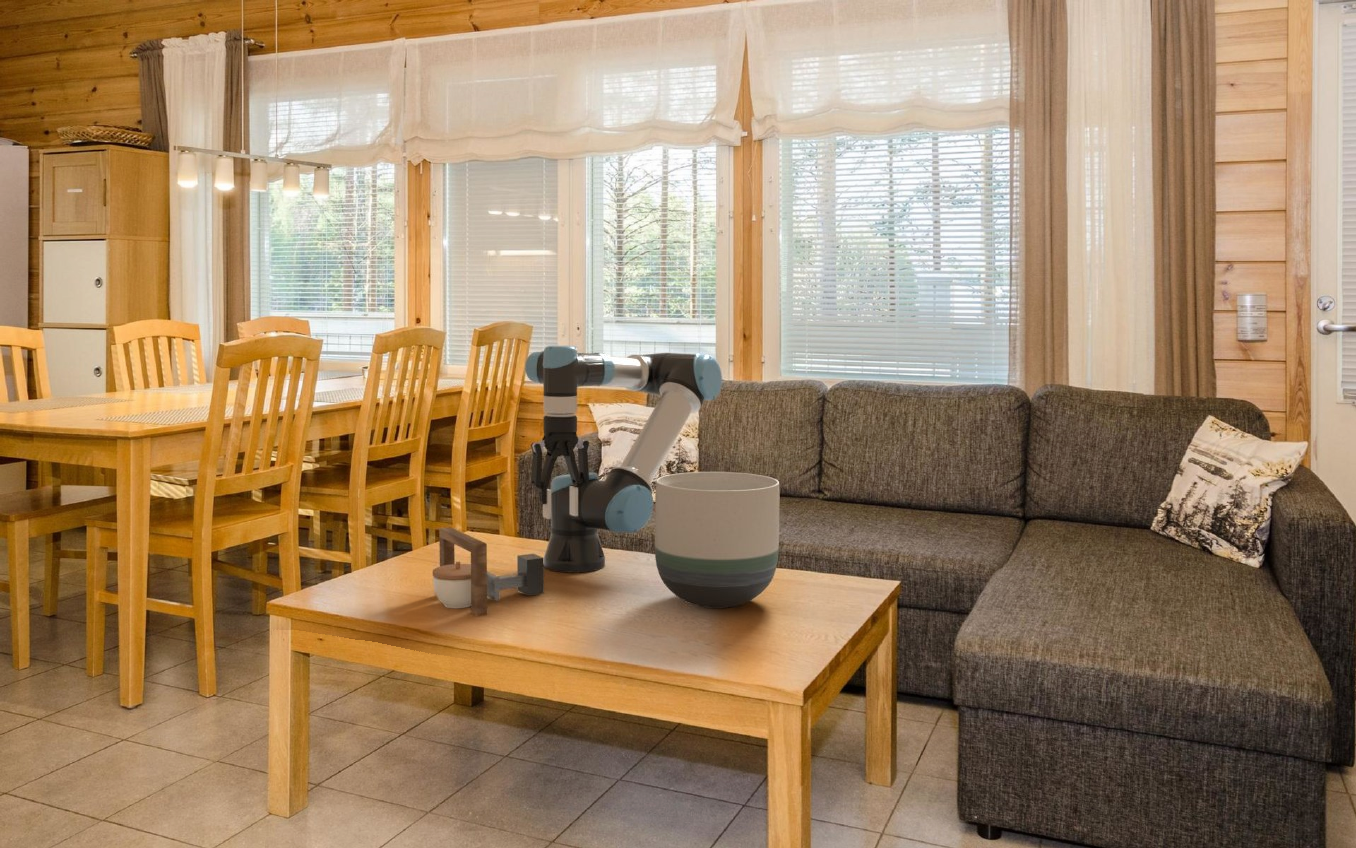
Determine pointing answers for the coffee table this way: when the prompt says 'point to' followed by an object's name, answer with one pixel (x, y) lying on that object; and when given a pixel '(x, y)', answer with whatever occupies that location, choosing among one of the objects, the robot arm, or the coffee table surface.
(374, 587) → the coffee table surface
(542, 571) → the cube and plate dumbbell
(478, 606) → the bridge
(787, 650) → the coffee table surface
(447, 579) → the lidded jar
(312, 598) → the coffee table surface
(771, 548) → the planter
